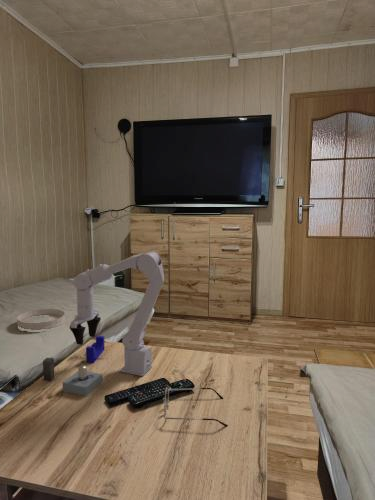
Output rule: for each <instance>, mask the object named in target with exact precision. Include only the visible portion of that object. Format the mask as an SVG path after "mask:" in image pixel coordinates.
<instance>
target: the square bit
mask: <svg viewBox="0 0 375 500" xmlns="http://www.w3.org/2000/svg"><path fill="white" fill-rule="evenodd" d="M42 374H43V376H42V377H43V381H45V382H46V381H47V382H52V381H53V380H54V378H55V358H53V357H46V358H45V359H43V360H42Z"/></svg>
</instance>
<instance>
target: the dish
mask: <svg viewBox="0 0 375 500" xmlns="http://www.w3.org/2000/svg"><path fill="white" fill-rule="evenodd" d="M39 315H49V316H48V318H49V319H48V320H49V321H47V322H40V323H26V322H21V320H22V319H25V318H28V317H32V316H39ZM65 317H66V316H65V312H64V310H61V309H58V308H40V309H33V310H30V311H25V312H23V313H21V314H19V315H18V316H17V317H16V321H17V322H16V326H17V325H18V326H19V327H21V328H24V329H31V330H41V329H51V328H55V327H58V326H61V325H62V324H63V323H64V322H65V323H66V318H65Z"/></svg>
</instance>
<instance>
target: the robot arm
mask: <svg viewBox="0 0 375 500" xmlns="http://www.w3.org/2000/svg"><path fill="white" fill-rule="evenodd" d="M127 269H133V270H136V271H137V270H138V269H139V271H140V272H141V273H142V274H144V276H146V278H147V280H148V285H147V287H146V290H145V291H144V295H143V297H142V299H141V302H140V305H139V307H138V309H137V312H136V313H135V317H134V319H133V321H132V322H131V325H130V327H129V328H128V331H127V332H126V333H125V334H124V335H123V337H122V339H121V341H122V345H123V346H124V352H123V353H124V366H123V367H122V368H120V369H119V372H120V373H125V374H131V375H135V376H139V377H143V376H145V375H146V373H147V372H148V371H149V370H151V369H152V367H153V365H152V349H151V348H150V347H147V346H146V345H145V342H144V338H145V336H146V328H147V326H148V325H147V323H148V321H149V318H150V317H151V314H152V311H153V310H154V307H155V304H156V302H157V299H158V297H159V295H160V293H161V290H162V288H163V285H164V282H165V273H164V267H163V260H162V258H161V256H160V255H159V253H158V252H156V251H154V250H150V251H147V252H142V253H138V254H134V255H132V256H130V257H127V258H125V259H123V260H121V261H117V262H116V263H113V264H111V265H108V264H105V263H104V264H102V263H99V264H97V265H96V267H94V268H92V269H90V268H87V269H86V270H85V271H84V272H81V273H79V274H77V275H76V276H75V277H74V278H73V285H74V287H75V288H76V313H77V314H76V315H75V318H74V319H73V320H72V321H70V325H69V330H70V331H71V332H72V334H73V337H74V339H75V343H76V345H80V346H82V345H83V343H84V334H85V331H86V326H83V325H82V324H84V323H86V324H87V328H88V336H89V337H91V338H94V337H95V338H96V334H97V329H98V327H99V325H100V322H101V317H99V316H100V310H94V286H96V285H98V284H100V283H103V282H105V281H108V280H111V278H112V276H113V275H114V274H116V273H118V272H121V271H125V270H127Z"/></svg>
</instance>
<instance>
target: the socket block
mask: <svg viewBox="0 0 375 500" xmlns="http://www.w3.org/2000/svg"><path fill="white" fill-rule="evenodd" d="M102 384H103V374H102V373H97V372H94V371H88V370H87V380H86V381H79V380H78V370H77V371H76V372H75V373H73V374H72V375H70V376H69V377H68V378H66V379H65V380H63V381H62V392H64V393H65V392H66V393H70V394H74V395H79V396H83V397H87V396H89V394H91V393H92V392H93V391H94V390H96V389H97V388H98V387H99V386H100V385H102Z"/></svg>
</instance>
